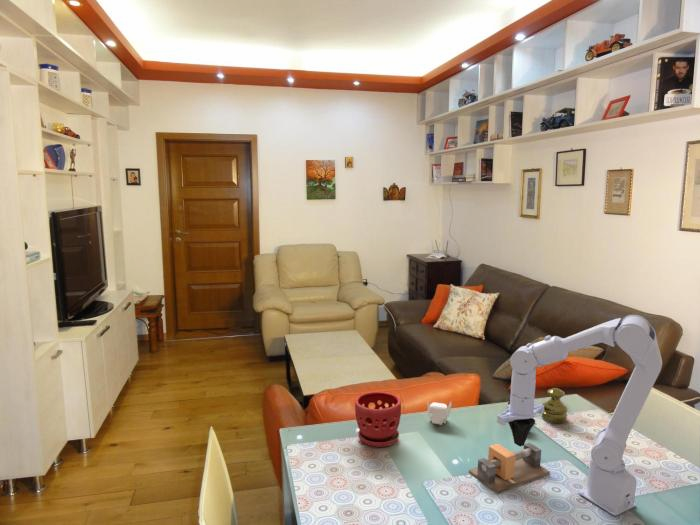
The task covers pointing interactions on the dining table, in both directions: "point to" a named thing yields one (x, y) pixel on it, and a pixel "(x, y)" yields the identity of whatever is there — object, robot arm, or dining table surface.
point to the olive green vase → (555, 407)
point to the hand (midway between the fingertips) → (519, 444)
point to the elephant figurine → (438, 412)
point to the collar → (502, 460)
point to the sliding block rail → (523, 472)
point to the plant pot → (378, 418)
